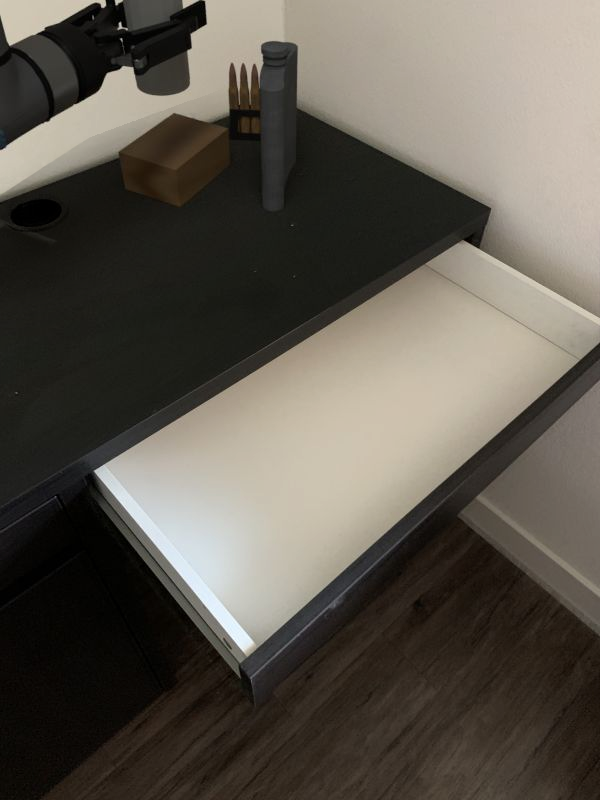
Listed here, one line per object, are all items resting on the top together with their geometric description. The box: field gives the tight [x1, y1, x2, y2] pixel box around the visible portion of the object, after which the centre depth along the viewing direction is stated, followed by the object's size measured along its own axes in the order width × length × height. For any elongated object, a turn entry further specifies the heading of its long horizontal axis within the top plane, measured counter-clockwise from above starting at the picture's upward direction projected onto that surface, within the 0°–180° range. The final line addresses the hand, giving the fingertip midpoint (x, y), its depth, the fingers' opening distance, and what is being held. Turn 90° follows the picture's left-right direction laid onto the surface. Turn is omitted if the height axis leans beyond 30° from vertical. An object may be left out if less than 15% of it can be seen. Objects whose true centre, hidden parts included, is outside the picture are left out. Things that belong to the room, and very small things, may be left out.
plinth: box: [117, 112, 231, 208], centre depth 100 cm, size 10×14×6 cm
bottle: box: [122, 0, 191, 97], centre depth 81 cm, size 7×7×17 cm
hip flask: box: [259, 40, 299, 213], centre depth 95 cm, size 16×4×20 cm, turn 172°
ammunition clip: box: [227, 62, 261, 142], centre depth 107 cm, size 11×2×12 cm, turn 87°
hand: (178, 6), depth 85 cm, fingers closed on bottle, 7 cm apart
